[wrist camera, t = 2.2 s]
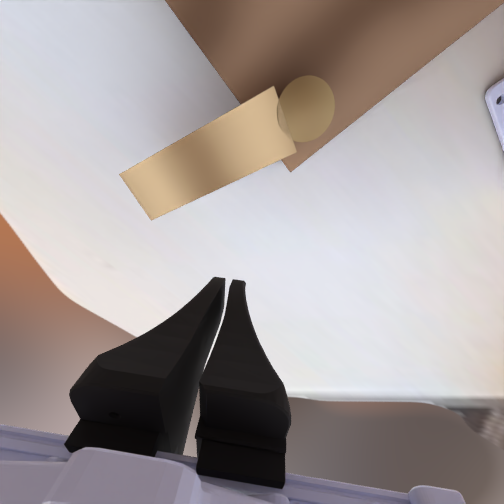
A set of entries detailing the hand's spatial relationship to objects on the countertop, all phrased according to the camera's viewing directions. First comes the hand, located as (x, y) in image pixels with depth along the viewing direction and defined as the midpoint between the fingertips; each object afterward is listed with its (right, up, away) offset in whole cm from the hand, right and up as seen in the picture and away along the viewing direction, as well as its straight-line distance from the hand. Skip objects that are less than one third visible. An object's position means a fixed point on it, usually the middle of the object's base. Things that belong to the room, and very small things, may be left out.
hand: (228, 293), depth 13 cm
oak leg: (0, +9, +3) cm, 10 cm away
